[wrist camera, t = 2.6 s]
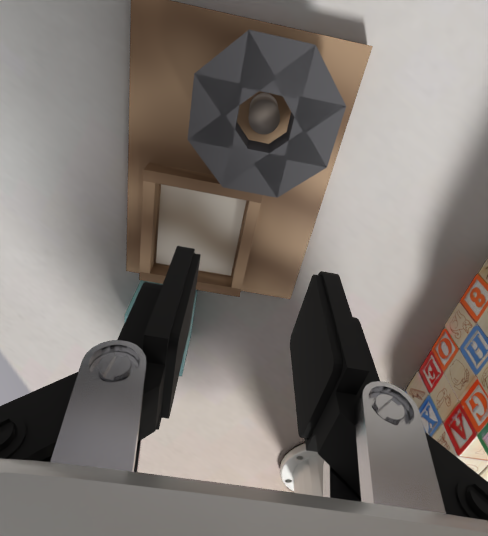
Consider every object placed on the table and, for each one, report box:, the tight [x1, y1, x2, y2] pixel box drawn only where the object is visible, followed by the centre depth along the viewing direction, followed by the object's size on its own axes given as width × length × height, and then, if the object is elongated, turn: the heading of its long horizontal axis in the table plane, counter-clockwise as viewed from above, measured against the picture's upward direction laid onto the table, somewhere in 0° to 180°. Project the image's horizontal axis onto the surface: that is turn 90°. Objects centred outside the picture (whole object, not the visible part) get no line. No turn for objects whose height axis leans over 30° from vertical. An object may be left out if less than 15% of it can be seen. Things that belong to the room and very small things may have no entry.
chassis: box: [126, 0, 372, 299], centre depth 26 cm, size 19×14×4 cm
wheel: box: [187, 30, 346, 198], centre depth 21 cm, size 8×8×2 cm
